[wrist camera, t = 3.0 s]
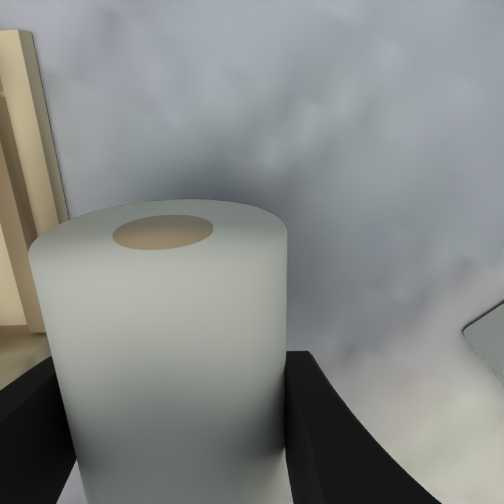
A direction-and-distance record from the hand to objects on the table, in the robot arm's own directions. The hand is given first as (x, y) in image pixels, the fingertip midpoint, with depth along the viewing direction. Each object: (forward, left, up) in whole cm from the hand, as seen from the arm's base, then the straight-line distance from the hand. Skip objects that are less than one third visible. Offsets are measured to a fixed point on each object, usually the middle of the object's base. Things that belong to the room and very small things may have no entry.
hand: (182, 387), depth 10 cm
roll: (0, 0, -2) cm, 2 cm away
